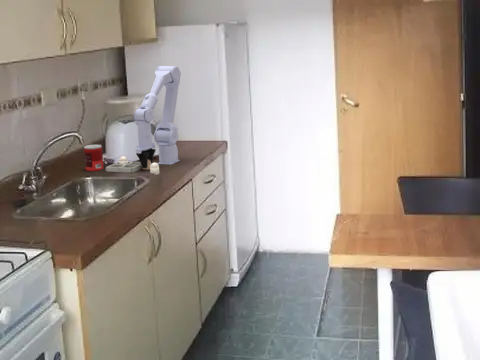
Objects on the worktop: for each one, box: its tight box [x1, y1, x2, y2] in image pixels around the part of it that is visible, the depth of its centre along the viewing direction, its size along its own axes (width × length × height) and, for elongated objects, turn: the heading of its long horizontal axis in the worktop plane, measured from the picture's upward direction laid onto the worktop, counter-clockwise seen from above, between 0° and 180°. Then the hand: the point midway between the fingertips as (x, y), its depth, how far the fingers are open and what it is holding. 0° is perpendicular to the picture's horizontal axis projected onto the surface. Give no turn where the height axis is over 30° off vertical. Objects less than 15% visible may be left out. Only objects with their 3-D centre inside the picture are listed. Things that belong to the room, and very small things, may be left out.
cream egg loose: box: [149, 162, 160, 176], centre depth 289 cm, size 4×4×5 cm
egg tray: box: [105, 161, 143, 174], centre depth 298 cm, size 13×13×2 cm
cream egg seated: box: [118, 155, 129, 164], centre depth 302 cm, size 4×4×5 cm
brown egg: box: [142, 159, 151, 171], centre depth 297 cm, size 4×4×5 cm
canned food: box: [83, 144, 104, 172], centre depth 299 cm, size 8×8×11 cm
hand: (146, 166), depth 297 cm, fingers closed on brown egg, 4 cm apart
